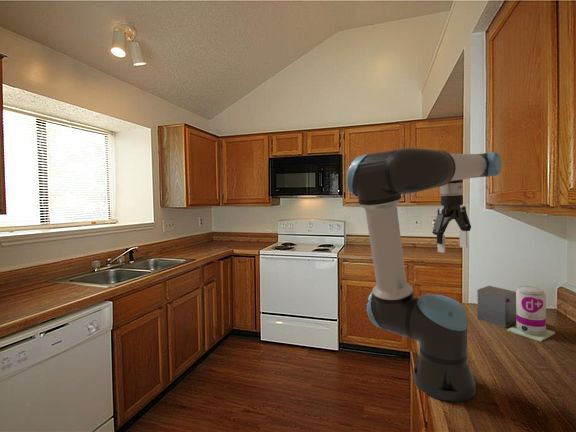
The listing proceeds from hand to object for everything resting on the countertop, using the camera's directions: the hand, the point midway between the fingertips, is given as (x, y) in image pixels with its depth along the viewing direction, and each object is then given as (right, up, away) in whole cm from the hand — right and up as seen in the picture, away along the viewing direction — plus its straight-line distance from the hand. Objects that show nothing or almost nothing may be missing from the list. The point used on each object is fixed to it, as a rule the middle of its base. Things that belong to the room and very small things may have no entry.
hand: (452, 249), depth 119 cm
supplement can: (+22, -28, -10) cm, 37 cm away
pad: (+22, -28, -10) cm, 37 cm away
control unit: (+17, -28, 0) cm, 33 cm away
